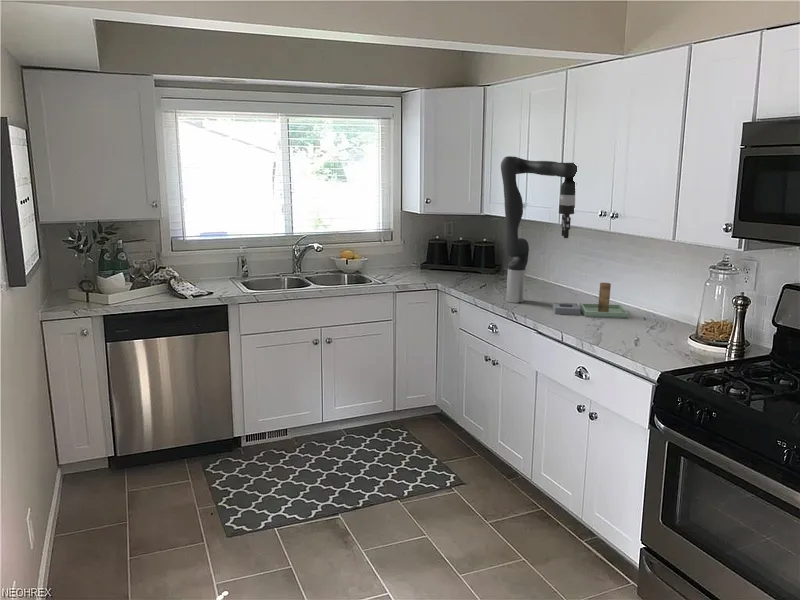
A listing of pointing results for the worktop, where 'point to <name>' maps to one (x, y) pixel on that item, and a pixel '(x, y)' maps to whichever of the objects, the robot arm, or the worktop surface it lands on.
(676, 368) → the worktop surface
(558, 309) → the socket block
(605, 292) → the dowel
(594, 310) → the tray
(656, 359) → the worktop surface
